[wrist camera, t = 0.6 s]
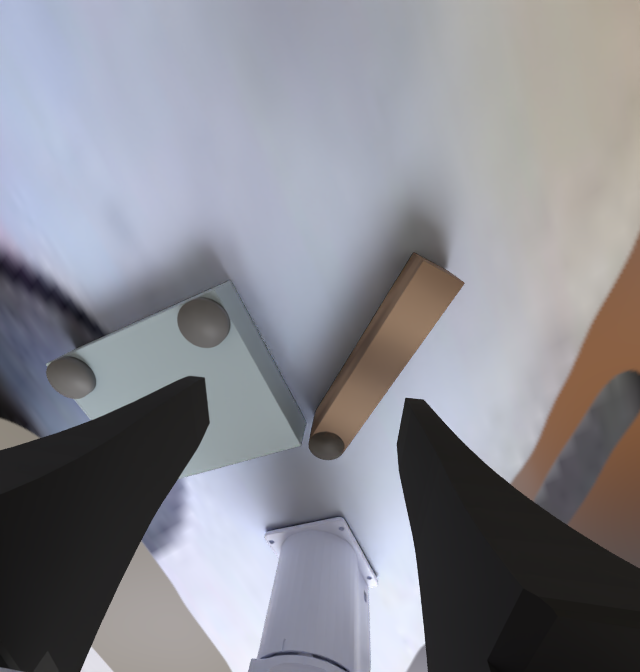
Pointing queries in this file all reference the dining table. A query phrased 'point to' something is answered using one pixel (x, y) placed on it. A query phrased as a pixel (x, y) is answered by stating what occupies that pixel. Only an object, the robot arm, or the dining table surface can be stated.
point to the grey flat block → (191, 360)
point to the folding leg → (382, 353)
